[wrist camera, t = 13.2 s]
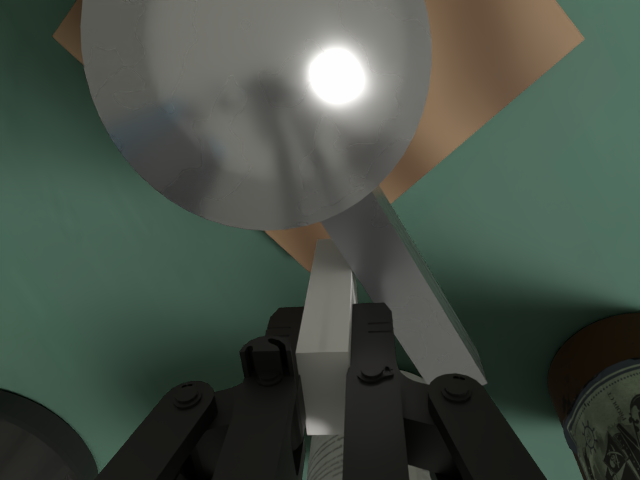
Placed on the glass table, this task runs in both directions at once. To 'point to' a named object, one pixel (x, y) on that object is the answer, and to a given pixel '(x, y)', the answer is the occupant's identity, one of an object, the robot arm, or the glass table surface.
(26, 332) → the glass table surface
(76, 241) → the glass table surface
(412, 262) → the disc with handle bar
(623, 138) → the glass table surface
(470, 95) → the square wooden board
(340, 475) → the supplement tub
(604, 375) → the olive oil
